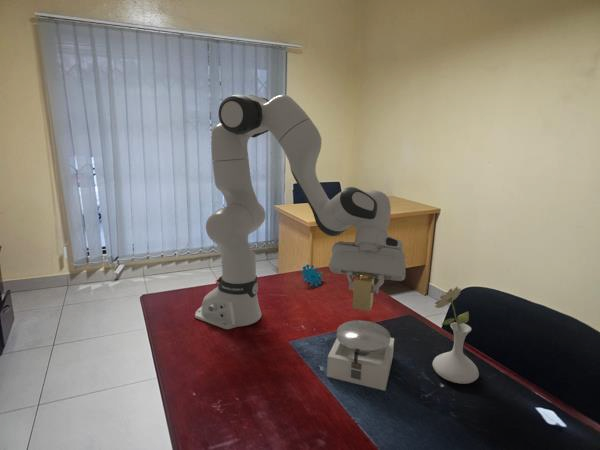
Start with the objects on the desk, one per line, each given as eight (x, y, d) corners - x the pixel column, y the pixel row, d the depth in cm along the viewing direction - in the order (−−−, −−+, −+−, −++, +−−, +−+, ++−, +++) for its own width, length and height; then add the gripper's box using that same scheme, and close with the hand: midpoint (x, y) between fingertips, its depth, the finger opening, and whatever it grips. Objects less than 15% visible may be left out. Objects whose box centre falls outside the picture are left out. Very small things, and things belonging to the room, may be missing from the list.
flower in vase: (461, 359, 105) (473, 276, 99) (487, 385, 95) (502, 294, 88) (418, 363, 103) (427, 279, 97) (440, 391, 92) (451, 298, 86)
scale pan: (327, 365, 95) (328, 345, 93) (343, 333, 109) (343, 316, 108) (383, 378, 90) (385, 358, 89) (391, 343, 104) (393, 325, 103)
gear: (308, 286, 148) (299, 264, 152) (300, 293, 152) (291, 271, 156) (328, 283, 155) (319, 262, 159) (320, 289, 159) (311, 269, 163)
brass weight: (352, 308, 98) (353, 276, 95) (356, 301, 102) (357, 270, 99) (369, 311, 96) (371, 279, 94) (372, 303, 100) (374, 273, 98)
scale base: (326, 377, 97) (327, 357, 95) (341, 346, 111) (341, 328, 109) (385, 391, 92) (386, 370, 90) (392, 357, 106) (394, 338, 104)
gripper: (332, 235, 104) (322, 281, 98) (408, 242, 98) (403, 291, 91) (335, 245, 109) (326, 290, 103) (407, 253, 103) (403, 300, 97)
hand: (363, 291), depth 97 cm, fingers closed on brass weight, 5 cm apart
